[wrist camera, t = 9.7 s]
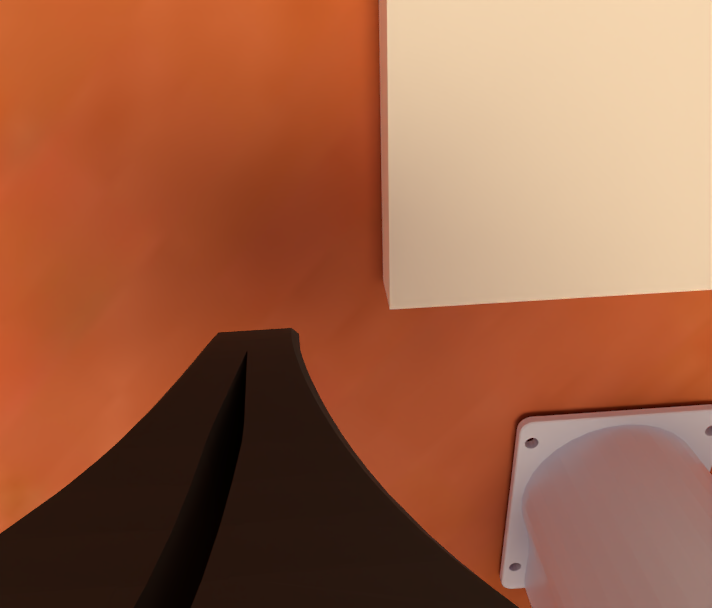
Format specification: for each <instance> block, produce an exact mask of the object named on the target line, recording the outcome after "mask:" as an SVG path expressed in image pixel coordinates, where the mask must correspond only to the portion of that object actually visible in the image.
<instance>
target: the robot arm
mask: <svg viewBox="0 0 712 608" xmlns="http://www.w3.org/2000/svg"><path fill="white" fill-rule="evenodd" d="M709 426H710V427H709ZM708 427H709V428H708ZM530 438H534V439H533V440H532V441H528V442H527V440H528V439H530ZM711 467H712V404H707V405H693V406H678V407H664V408H649V409H635V410H620V411H606V412H592V413H577V414H563V415H548V416H534V417H528V418H525V419H523V420H522V421H521V422H520V423H519V424H518V427H517V434H516V442H515V451H514V459H513V468H512V476H511V485H510V493H509V502H508V510H507V519H506V527H505V536H504V544H503V553H502V561H501V570H500V580H501V583H502V585H503V586H504V587H506V588H509V589H515V588H525V589H526V592H527V595H528V598H529V601H530V604H531V606H532V608H712V475H711V473H710V470H711ZM0 608H519V607H517V606H516V605H515V604H513V603H512V602H511V601H509V600H508V599H507V598H505V597H504V596H503V595H501V594H500V593H499V592H497V591H496V590H495V589H493V588H492V587H491V586H489V585H488V584H487V583H485V582H484V581H483V580H482V579H480V578H479V577H478V576H477V575H476V574H474V573H473V572H472V571H471V570H469V569H468V568H467V567H466V566H464V565H463V564H462V563H461V562H459V561H458V560H457V559H456V558H455V557H454V556H453V555H451V554H450V553H449V552H448V551H447V550H446V549H445V548H444V547H442V546H441V545H440V544H439V543H438V542H437V541H436V540H435V539H433V538H432V537H431V536H430V535H429V534H428V533H427V532H426V531H425V530H424V529H423V528H422V527H421V526H420V525H419V524H418V523H417V522H416V521H415V520H414V519H413V518H412V517H411V516H410V515H409V514H408V513H407V512H406V511H405V510H404V509H403V508H402V507H401V506H400V505H399V504H398V503H397V502H396V501H395V500H394V499H393V498H392V497H391V496H390V495H389V494H388V493H387V491H386V490H385V489H384V488H383V487H382V486H381V484H380V483H379V482H378V481H377V480H376V479H375V477H374V476H373V475H372V474H371V473H370V471H369V470H368V469H367V468H366V466H365V465H364V464H363V463H362V461H361V460H360V459H359V457H358V456H357V455H356V453H355V452H354V451H353V449H352V448H351V447H350V445H349V444H348V442H347V441H346V439H345V438H344V436H343V435H342V434H341V432H340V430H339V429H338V427H337V426H336V424H335V422H334V421H333V419H332V418H331V416H330V414H329V413H328V411H327V409H326V407H325V406H324V404H323V402H322V400H321V398H320V396H319V394H318V392H317V390H316V388H315V386H314V384H313V382H312V380H311V378H310V376H309V373H308V371H307V369H306V366H305V363H304V360H303V358H302V354H301V351H300V342H299V334H298V333H297V332H296V331H295V330H293V329H292V328H285V329H269V330H253V331H237V332H221V333H218V334H217V335H216V336H215V337H214V338H213V339H212V340H211V342H210V343H209V344H208V345H207V346H206V347H205V349H204V350H203V351H202V352H201V353H200V355H199V356H198V357H197V358H196V359H195V361H194V362H193V363H192V364H191V365H190V366H189V368H188V369H187V370H186V371H185V372H184V374H183V375H182V376H181V377H180V378H179V379H178V380H177V382H176V383H175V384H174V385H173V386H172V387H171V388H170V389H169V390H168V392H167V393H166V394H165V395H164V396H163V397H162V398H161V399H160V401H159V402H158V403H157V404H156V405H155V406H154V407H153V408H152V409H151V410H150V411H149V412H148V413H147V414H146V415H145V416H144V417H143V418H142V419H141V420H140V421H139V422H138V423H137V424H136V425H135V426H134V427H133V428H132V429H131V430H130V431H129V432H128V433H127V434H126V435H125V436H124V437H123V438H122V439H121V440H120V441H119V442H118V443H117V444H116V445H115V446H114V447H112V448H111V449H110V450H109V451H108V452H107V453H106V454H105V455H103V456H102V457H101V458H100V459H99V460H98V461H97V462H95V463H94V464H93V465H92V466H90V467H89V468H88V469H87V470H86V471H84V472H83V473H82V474H81V475H79V476H78V477H77V478H76V479H75V480H73V481H72V482H71V483H70V484H68V485H67V486H66V487H65V488H63V489H62V490H61V491H59V492H58V493H57V494H55V495H54V496H53V497H51V498H50V499H48V500H47V501H46V502H44V503H43V504H41V505H40V506H39V507H37V508H36V509H34V510H33V511H32V512H30V513H29V514H27V515H26V516H25V517H23V518H22V519H20V520H19V521H17V522H16V523H15V524H13V525H12V526H10V527H9V528H8V529H6V530H5V531H3V532H2V533H1V534H0Z"/></svg>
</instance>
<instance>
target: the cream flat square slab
mask: <svg viewBox="0 0 712 608" xmlns="http://www.w3.org/2000/svg"><path fill="white" fill-rule="evenodd" d="M379 49H380V115H381V181H382V247H383V282H384V286H385V291H386V295H387V300H388V304H389V308H390V310H391V309H407V308H423V307H440V306H456V305H472V304H488V303H504V302H520V301H537V300H553V299H569V298H585V297H601V296H617V295H634V294H650V293H666V292H682V291H698V290H712V0H379Z"/></svg>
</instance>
